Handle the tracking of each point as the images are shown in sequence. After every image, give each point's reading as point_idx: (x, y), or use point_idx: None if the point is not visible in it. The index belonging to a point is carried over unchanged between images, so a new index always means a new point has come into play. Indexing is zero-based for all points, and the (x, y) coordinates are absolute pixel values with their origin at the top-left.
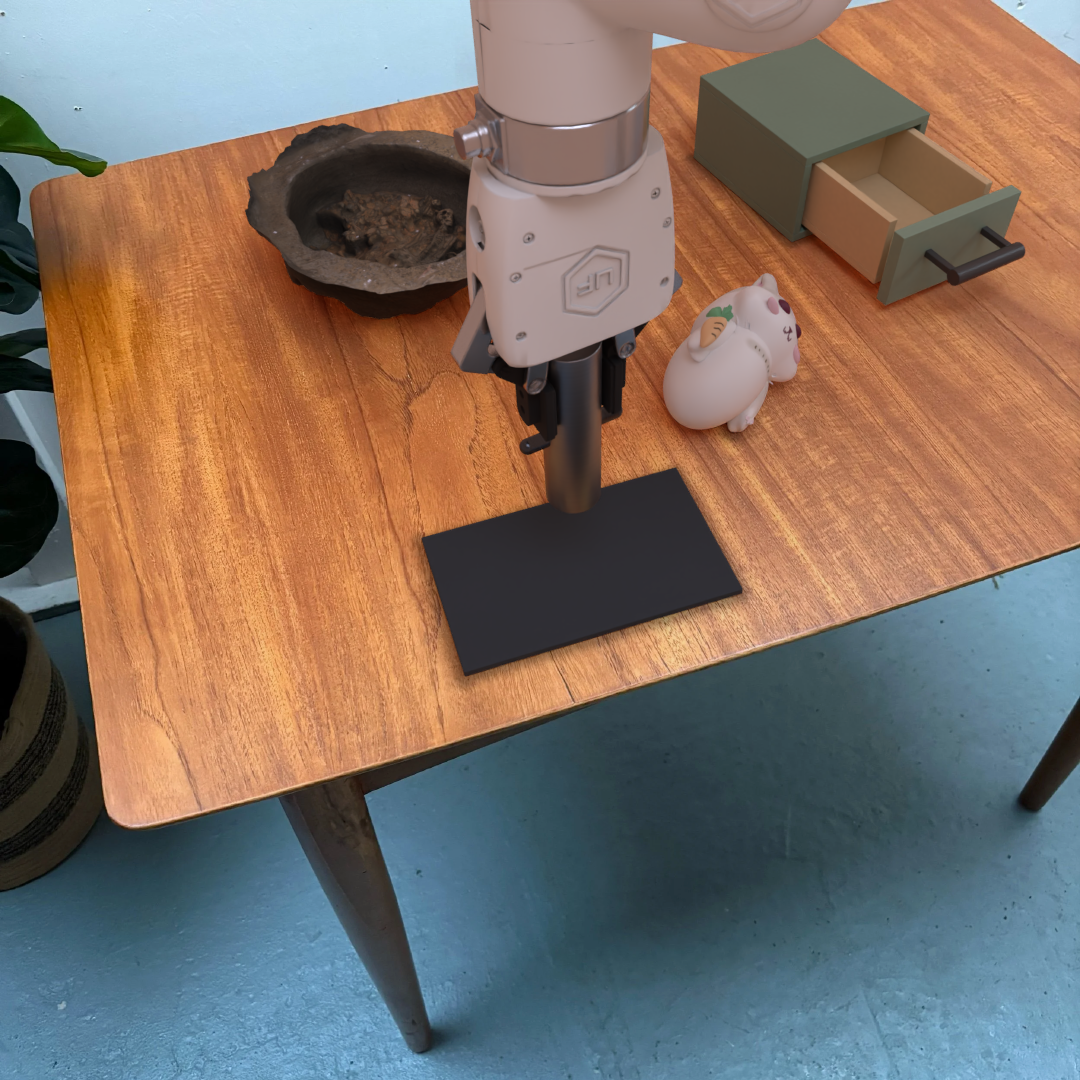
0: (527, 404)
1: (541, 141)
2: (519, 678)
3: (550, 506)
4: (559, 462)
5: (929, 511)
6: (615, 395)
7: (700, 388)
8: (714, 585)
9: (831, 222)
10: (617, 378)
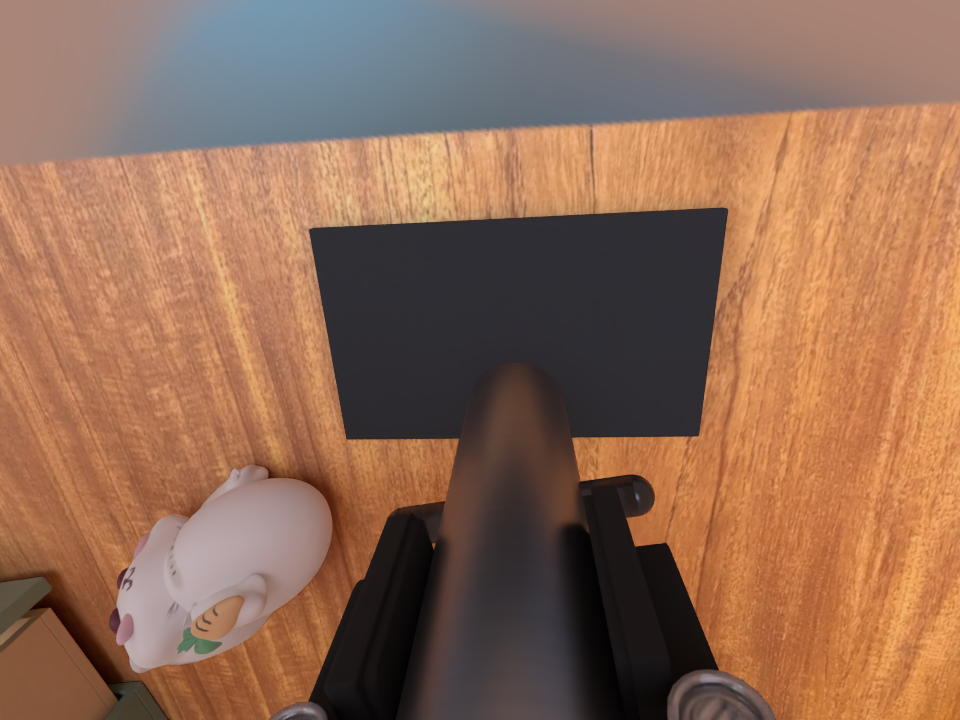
0: (698, 622)
1: None
2: (651, 182)
3: None
4: (559, 441)
5: (44, 281)
6: (390, 564)
7: (271, 533)
8: (345, 246)
9: (68, 701)
10: (365, 624)
